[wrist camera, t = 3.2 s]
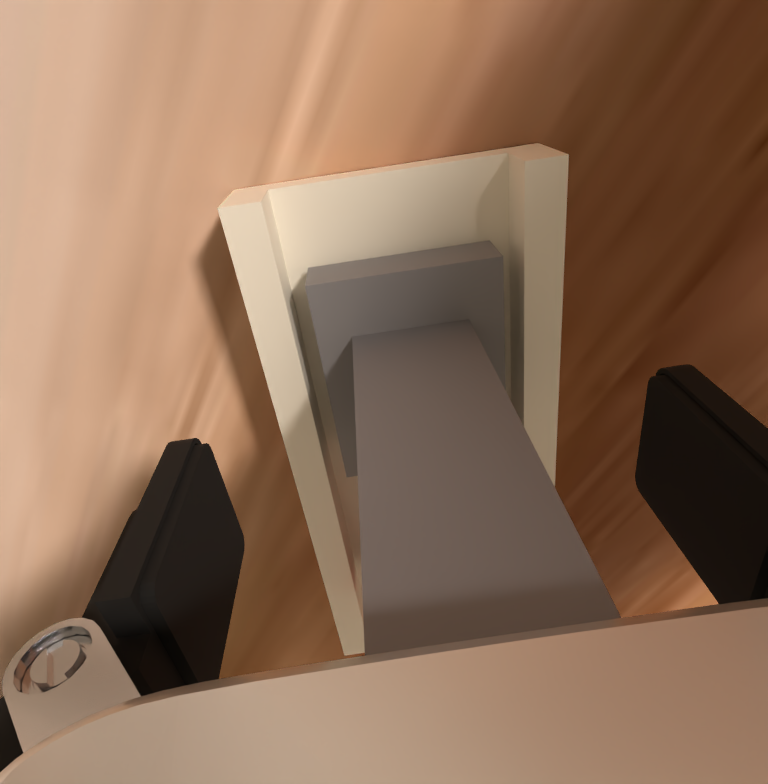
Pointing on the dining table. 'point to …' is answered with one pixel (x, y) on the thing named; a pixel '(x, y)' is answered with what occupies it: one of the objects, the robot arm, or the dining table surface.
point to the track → (383, 238)
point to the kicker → (443, 455)
